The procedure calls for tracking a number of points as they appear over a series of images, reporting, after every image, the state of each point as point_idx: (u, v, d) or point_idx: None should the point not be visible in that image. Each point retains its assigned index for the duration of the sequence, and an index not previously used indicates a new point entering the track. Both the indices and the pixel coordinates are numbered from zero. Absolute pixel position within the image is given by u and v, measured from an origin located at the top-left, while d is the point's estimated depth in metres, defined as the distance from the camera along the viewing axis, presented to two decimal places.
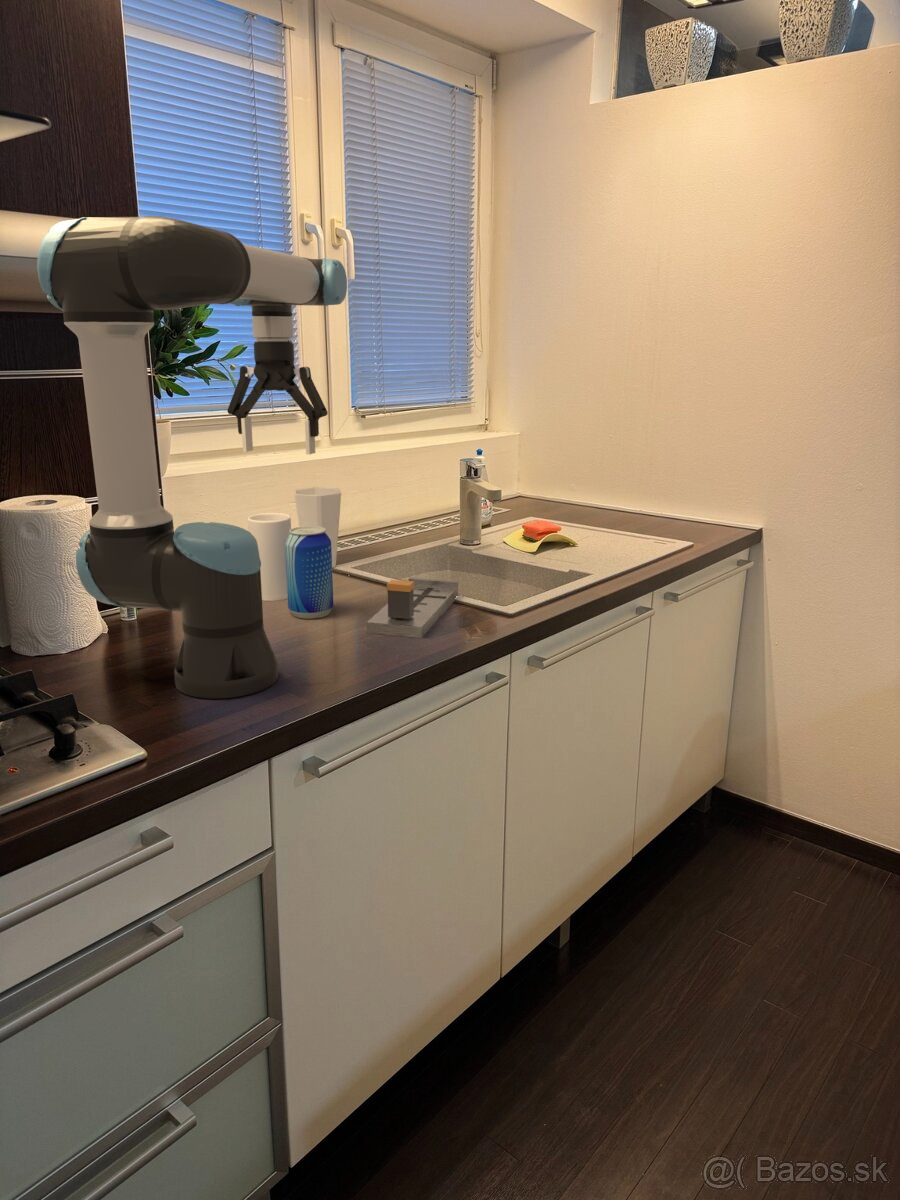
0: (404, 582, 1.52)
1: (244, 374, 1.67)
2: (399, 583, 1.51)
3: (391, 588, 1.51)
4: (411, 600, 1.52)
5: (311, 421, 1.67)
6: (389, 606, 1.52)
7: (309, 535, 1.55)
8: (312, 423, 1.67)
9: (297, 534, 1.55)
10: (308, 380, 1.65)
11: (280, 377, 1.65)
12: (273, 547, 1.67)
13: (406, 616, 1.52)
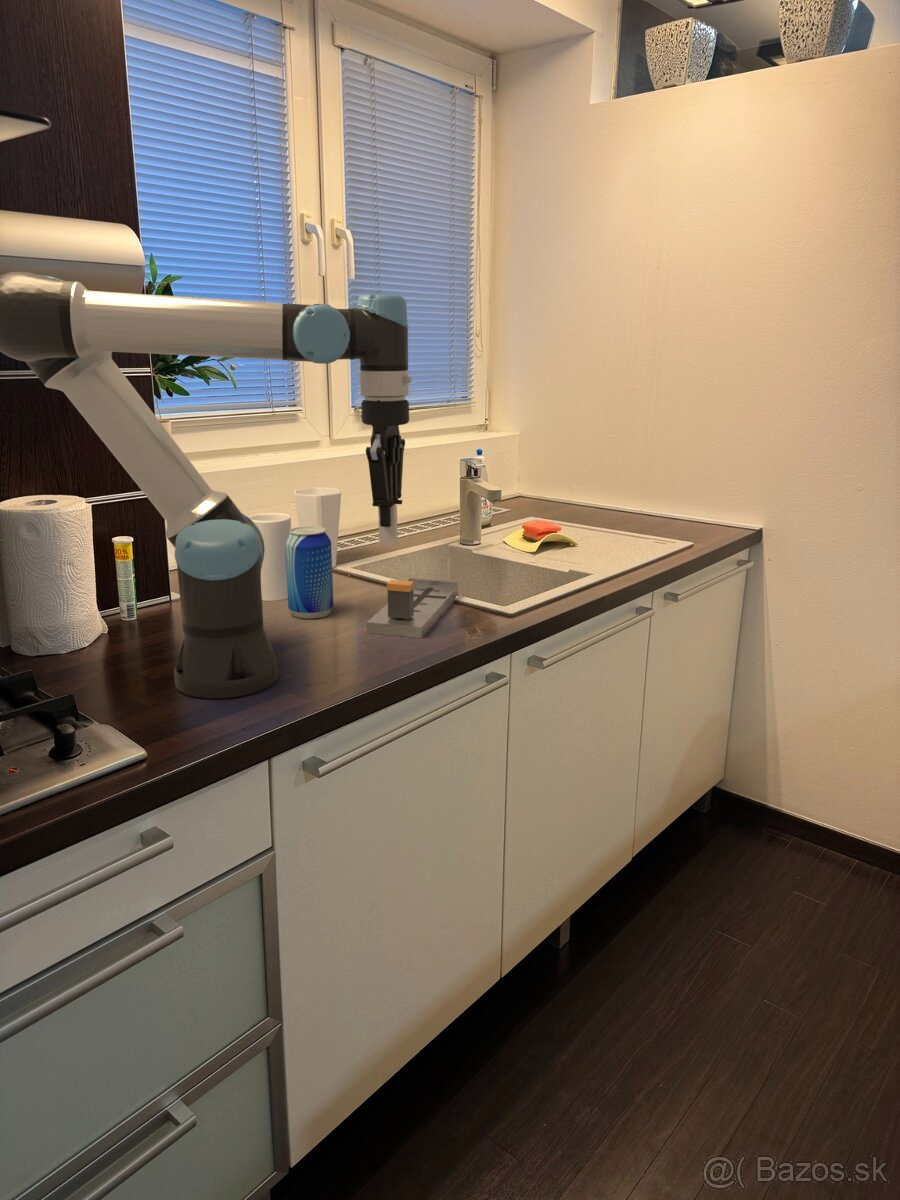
0: (404, 582, 1.52)
1: None
2: (399, 583, 1.51)
3: (391, 588, 1.51)
4: (411, 600, 1.52)
5: None
6: (389, 606, 1.52)
7: (309, 535, 1.55)
8: None
9: (297, 534, 1.55)
10: (372, 463, 1.34)
11: (371, 445, 1.37)
12: (273, 547, 1.67)
13: (406, 616, 1.52)
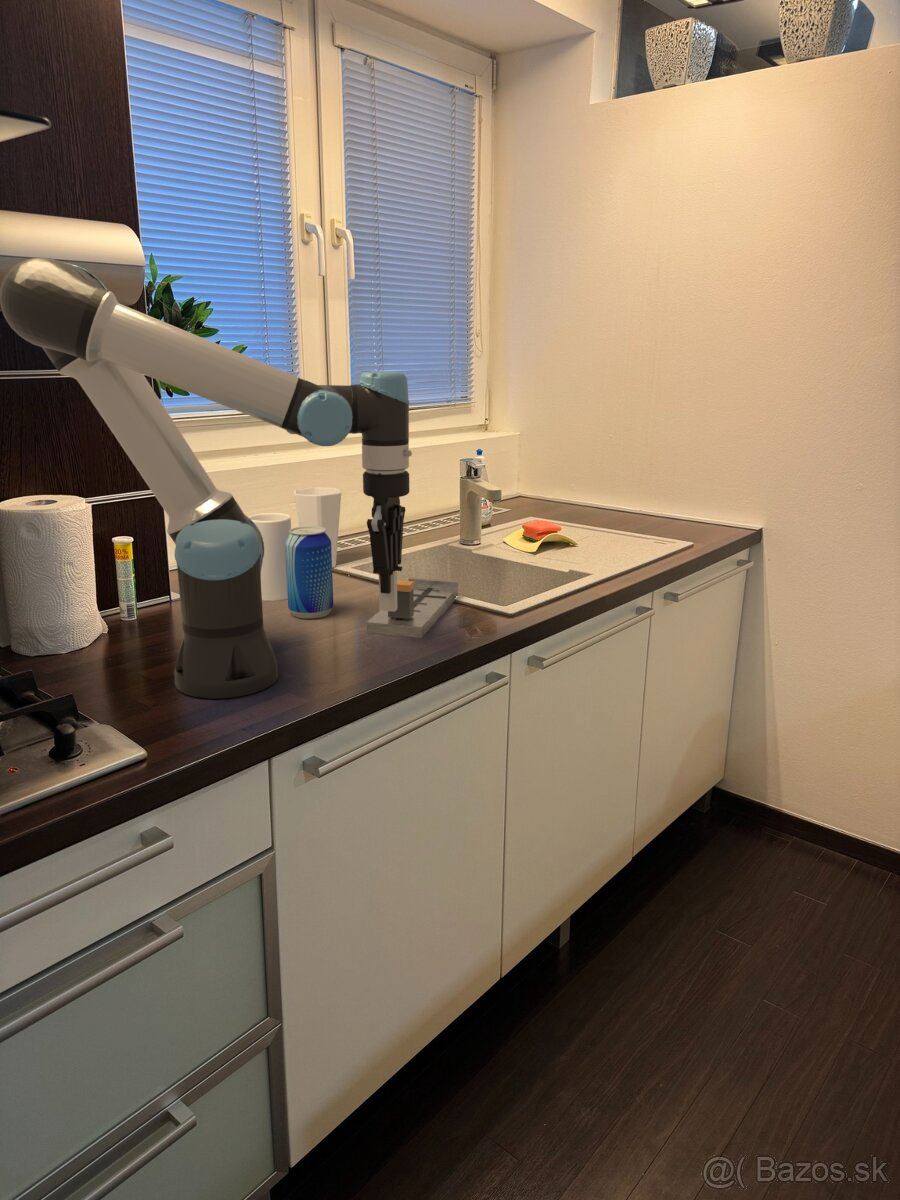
0: (404, 582, 1.52)
1: None
2: (399, 583, 1.51)
3: None
4: (411, 600, 1.52)
5: None
6: None
7: (309, 535, 1.55)
8: None
9: (297, 534, 1.55)
10: (373, 534, 1.37)
11: (372, 515, 1.40)
12: (273, 547, 1.67)
13: (406, 616, 1.52)
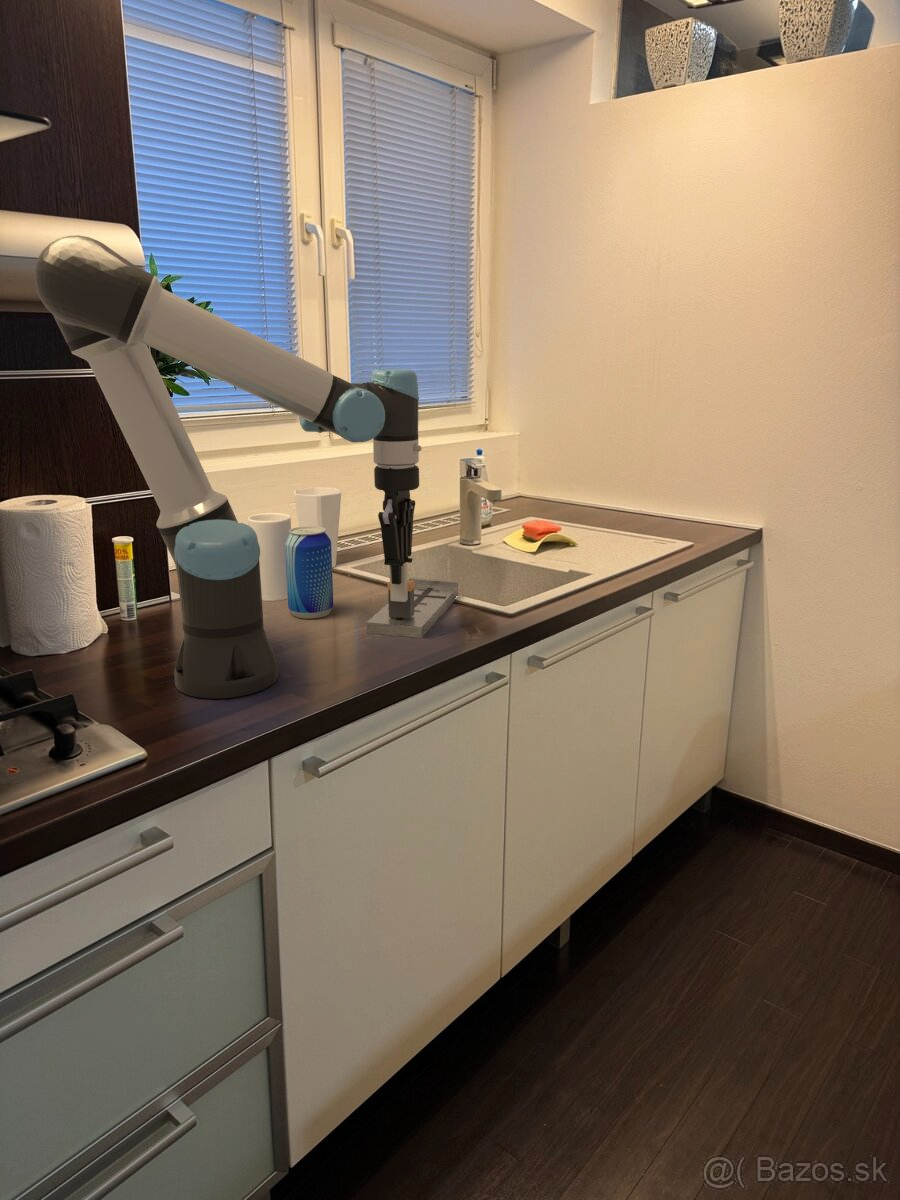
0: None
1: None
2: None
3: None
4: (412, 599, 1.53)
5: None
6: (390, 605, 1.53)
7: (309, 535, 1.55)
8: None
9: (297, 534, 1.55)
10: (384, 527, 1.42)
11: None
12: (273, 547, 1.67)
13: (407, 615, 1.52)
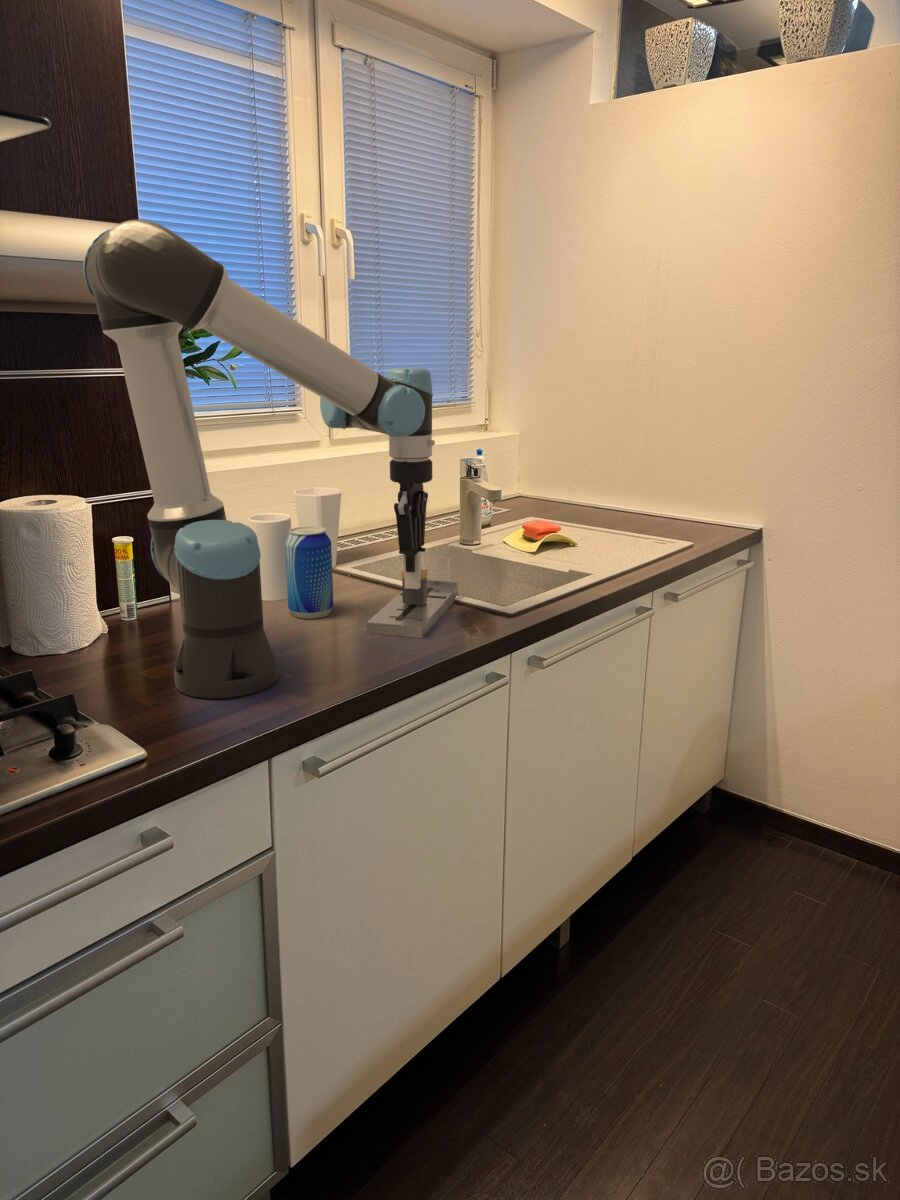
0: None
1: None
2: None
3: None
4: (424, 587, 1.60)
5: None
6: (403, 592, 1.60)
7: (309, 535, 1.55)
8: None
9: (297, 534, 1.55)
10: (400, 517, 1.50)
11: (398, 500, 1.53)
12: (273, 547, 1.67)
13: (420, 602, 1.60)
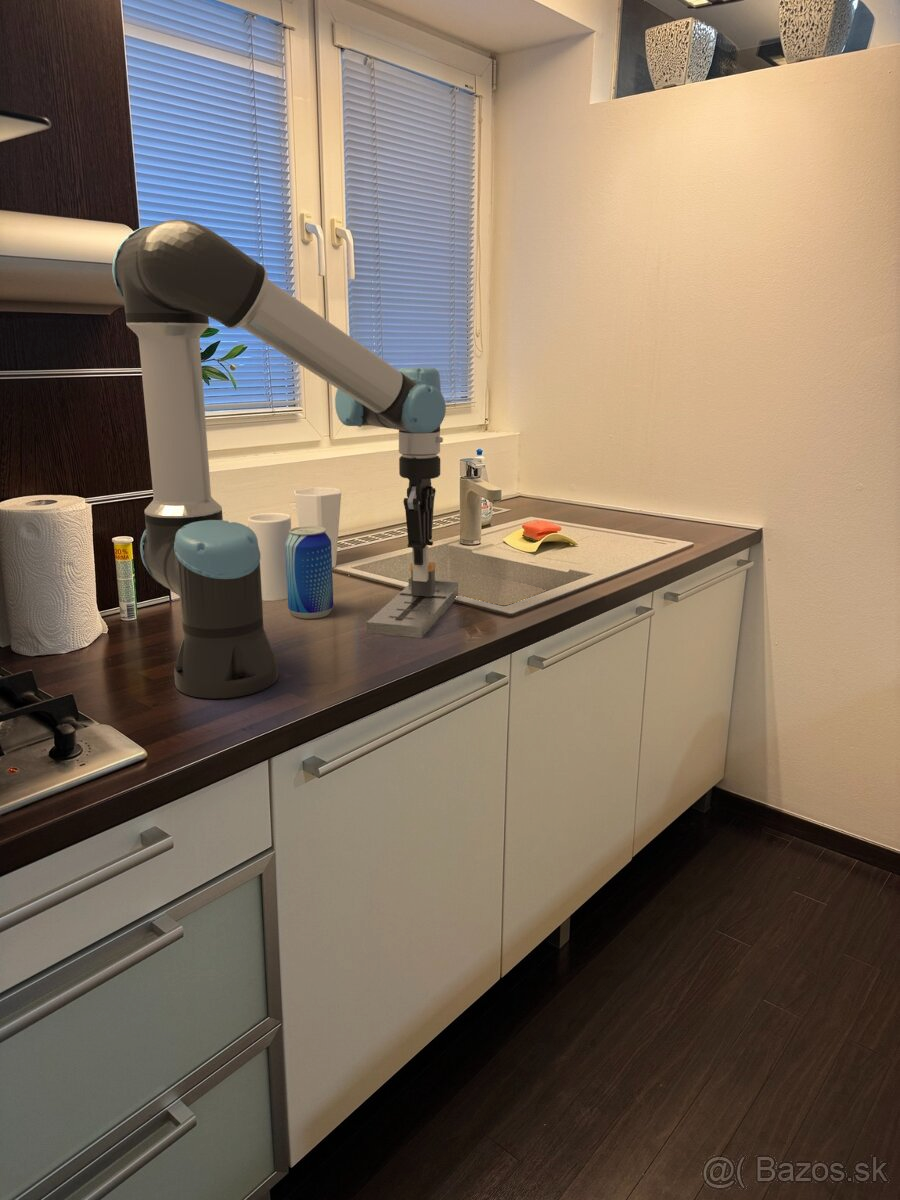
0: None
1: None
2: None
3: None
4: (433, 579, 1.65)
5: None
6: (412, 584, 1.65)
7: (309, 535, 1.55)
8: None
9: (297, 534, 1.55)
10: (409, 512, 1.55)
11: (407, 495, 1.58)
12: (273, 547, 1.67)
13: (428, 594, 1.65)
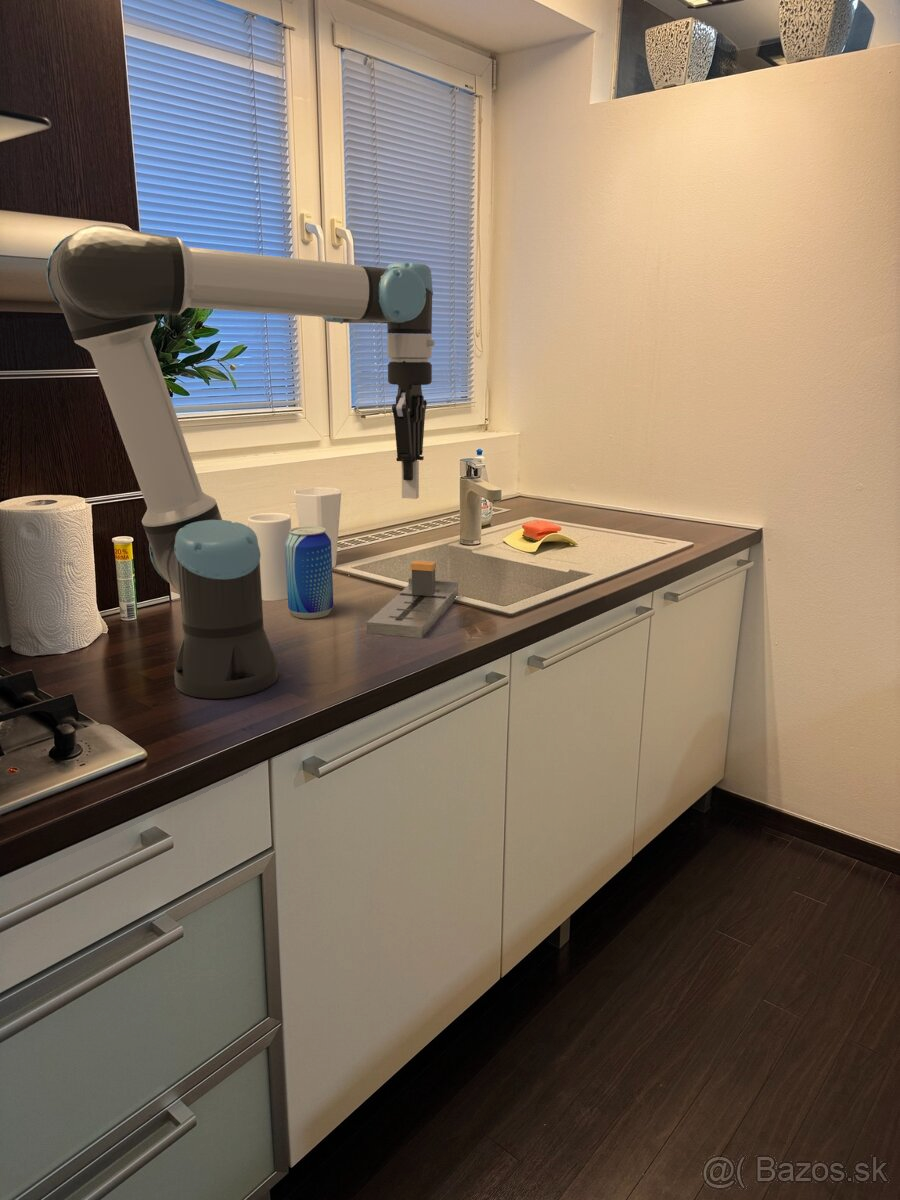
0: (427, 562, 1.65)
1: None
2: (422, 563, 1.65)
3: (415, 568, 1.65)
4: (433, 579, 1.66)
5: None
6: (413, 584, 1.66)
7: (309, 535, 1.55)
8: None
9: (297, 534, 1.55)
10: (398, 420, 1.45)
11: (396, 403, 1.48)
12: (273, 547, 1.67)
13: (429, 593, 1.65)
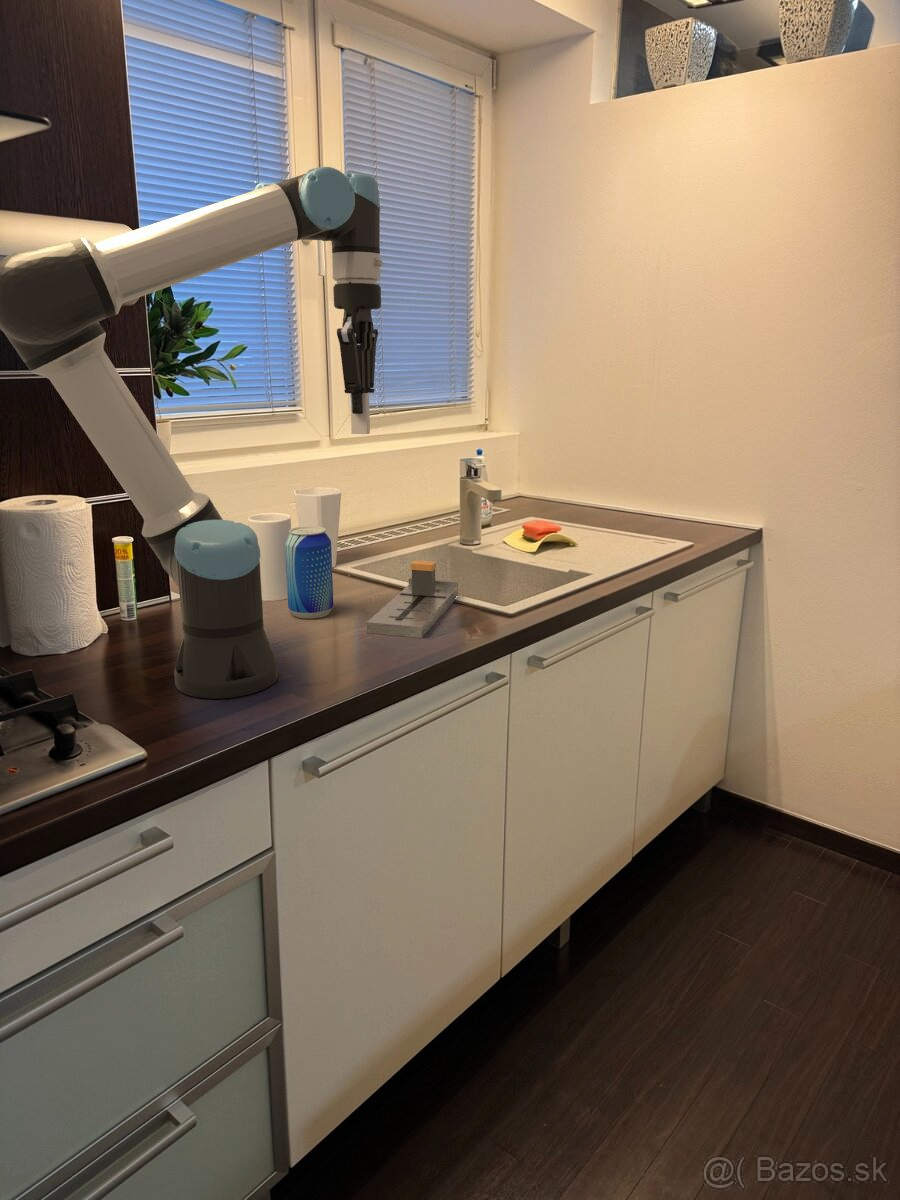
0: (427, 562, 1.65)
1: None
2: (422, 563, 1.65)
3: (415, 568, 1.65)
4: (433, 579, 1.66)
5: None
6: (413, 584, 1.66)
7: (309, 535, 1.55)
8: None
9: (297, 534, 1.55)
10: (344, 346, 1.35)
11: None
12: (273, 547, 1.67)
13: (429, 593, 1.65)
